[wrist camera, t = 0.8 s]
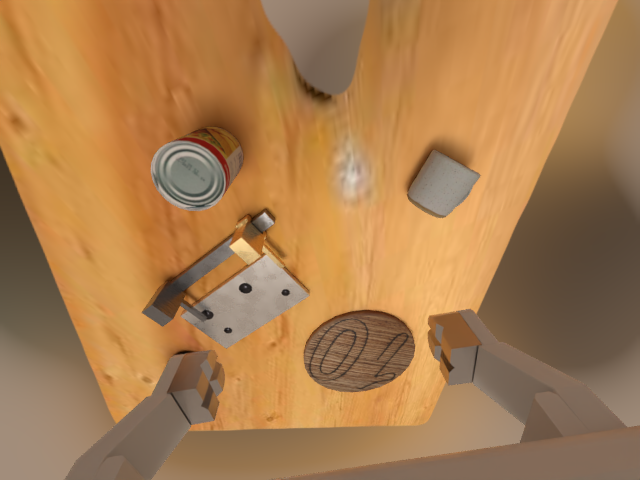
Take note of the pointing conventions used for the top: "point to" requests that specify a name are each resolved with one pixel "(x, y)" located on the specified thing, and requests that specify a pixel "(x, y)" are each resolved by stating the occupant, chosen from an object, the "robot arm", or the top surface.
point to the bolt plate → (247, 301)
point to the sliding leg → (251, 243)
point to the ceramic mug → (441, 185)
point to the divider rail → (194, 278)
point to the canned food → (197, 168)
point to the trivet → (358, 351)
